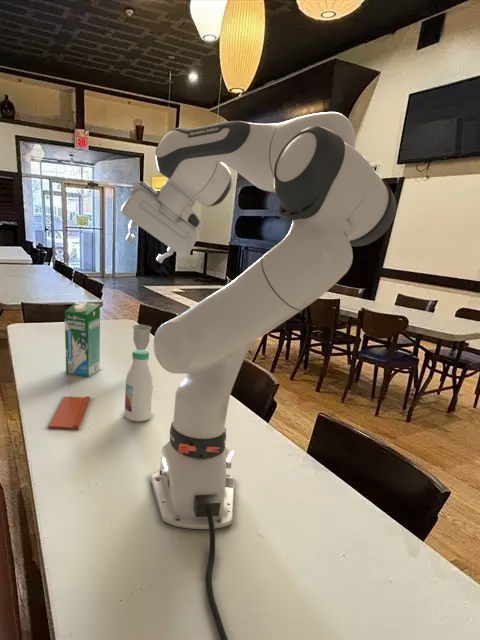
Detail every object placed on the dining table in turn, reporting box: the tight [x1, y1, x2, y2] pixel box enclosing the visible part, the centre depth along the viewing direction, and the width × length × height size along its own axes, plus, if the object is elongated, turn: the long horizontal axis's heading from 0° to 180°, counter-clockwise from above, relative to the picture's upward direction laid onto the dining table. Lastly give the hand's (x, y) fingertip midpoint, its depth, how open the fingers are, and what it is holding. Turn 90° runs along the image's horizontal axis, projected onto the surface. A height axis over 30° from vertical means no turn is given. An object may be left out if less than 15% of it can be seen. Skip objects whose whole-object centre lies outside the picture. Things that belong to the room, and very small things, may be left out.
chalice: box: [132, 324, 152, 351], centre depth 152 cm, size 7×7×18 cm
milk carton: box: [64, 300, 101, 378], centre depth 149 cm, size 9×9×25 cm
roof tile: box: [48, 395, 91, 430], centre depth 121 cm, size 20×8×1 cm, turn 2°
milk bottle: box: [124, 349, 153, 422], centre depth 118 cm, size 8×8×20 cm
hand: (143, 251), depth 107 cm, fingers open, 8 cm apart
